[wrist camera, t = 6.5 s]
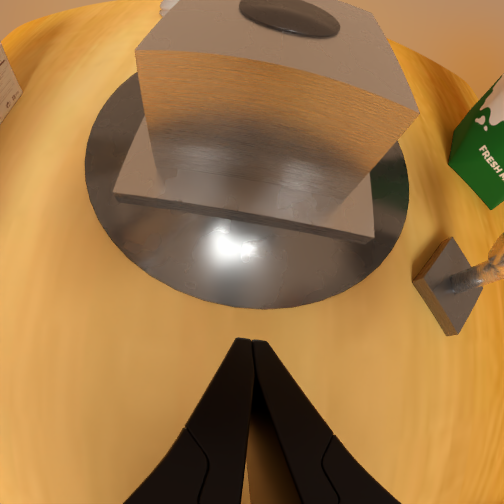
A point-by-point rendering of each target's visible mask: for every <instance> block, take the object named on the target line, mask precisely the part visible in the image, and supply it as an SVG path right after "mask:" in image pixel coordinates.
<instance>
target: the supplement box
mask: <svg viewBox="0 0 504 504" xmlns="http://www.w3.org/2000/svg"><path fill="white" fill-rule="evenodd" d="M22 93H23V91H22V89H21V87H20V85H19V83H18V81H17V79H16V77H15V75H14V72H13V70H12V68H11V66H10V63H9V61H8V59H7V56H6V54H5V52H4V49H3V47H2V44H1V41H0V124H1V122H2V121H3V120H4V118H5V117H6V115H7V114H8V112H9V111H10V110H11V108H12V107H13V105H14V104H15V103H16V101H17V100H18V99H19V97H20V96H21V95H22Z"/></svg>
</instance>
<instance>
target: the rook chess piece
mask: <svg viewBox="0 0 504 504" xmlns="http://www.w3.org/2000/svg"><path fill="white" fill-rule="evenodd" d="M178 1H179V0H163V1H162V2H161V5H160V8H161V9H162V10H160V13H159V14H161V15H162V16H163V17H164V16H165V15H166V14H167V13H168V12H169V10H170V9H171V8H172V7H173V6H174V5H175V4H176V3H177V2H178Z"/></svg>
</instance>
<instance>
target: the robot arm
mask: <svg viewBox="0 0 504 504" xmlns="http://www.w3.org/2000/svg"><path fill="white" fill-rule="evenodd" d="M246 461H247V471H248V481H249V491H250V500H251V504H401V503H400V502H399V501H398V500H397V499H395V498H394V497H393V496H392V495H391V494H390V493H389V492H388V491H387V490H386V489H385V488H383V487H382V486H381V485H380V484H379V483H378V482H377V481H376V480H375V479H374V478H373V477H372V476H371V475H370V474H369V473H368V472H367V471H366V470H365V469H364V468H363V467H362V466H361V465H360V464H359V463H358V462H357V461H356V460H355V459H354V457H353V456H352V455H351V454H350V453H349V451H348V450H347V449H346V448H345V447H344V445H343V444H342V443H341V442H340V440H339V439H338V438H337V436H336V435H333V431H332V430H331V429H330V427H329V426H328V425H327V423H326V422H325V421H324V419H323V418H322V417H321V415H320V414H319V413H318V411H317V410H316V409H315V407H314V406H313V405H312V403H311V402H310V401H309V399H308V398H307V397H306V395H305V394H304V392H303V391H302V390H301V388H300V387H299V386H298V384H297V383H296V381H295V380H294V379H293V377H292V376H291V374H290V373H289V372H288V370H287V369H286V368H285V366H284V365H283V363H282V362H281V360H280V359H279V358H278V356H277V355H276V353H275V352H274V351H273V349H272V348H271V346H270V345H269V343H268V342H267V341H263V340H252V341H251V340H250V339H246V338H236V339H235V340H234V342H233V344H232V346H231V347H230V349H229V351H228V353H227V354H226V356H225V358H224V360H223V361H222V363H221V365H220V367H219V368H218V370H217V372H216V374H215V375H214V377H213V379H212V380H211V382H210V384H209V386H208V387H207V389H206V391H205V392H204V394H203V396H202V398H201V399H200V401H199V403H198V404H197V406H196V408H195V409H194V411H193V413H192V414H191V416H190V418H189V419H188V421H187V423H186V424H185V428H183V429H182V431H181V432H180V434H179V436H178V437H177V439H176V440H175V442H174V443H173V445H172V446H171V448H170V449H169V451H168V452H167V454H166V455H165V457H164V458H163V459H162V460H161V462H160V463H159V464H158V465H157V466H156V468H155V469H154V470H153V471H152V473H151V474H150V475H149V476H148V477H147V478H146V479H145V480H144V481H143V482H142V484H141V485H140V486H139V487H138V488H137V489H136V490H135V491H134V492H133V493H132V494H131V495H130V496H129V497H128V499H127V500H126V501H125V502H124V503H123V504H241V497H242V488H243V480H244V472H245V463H246Z"/></svg>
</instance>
